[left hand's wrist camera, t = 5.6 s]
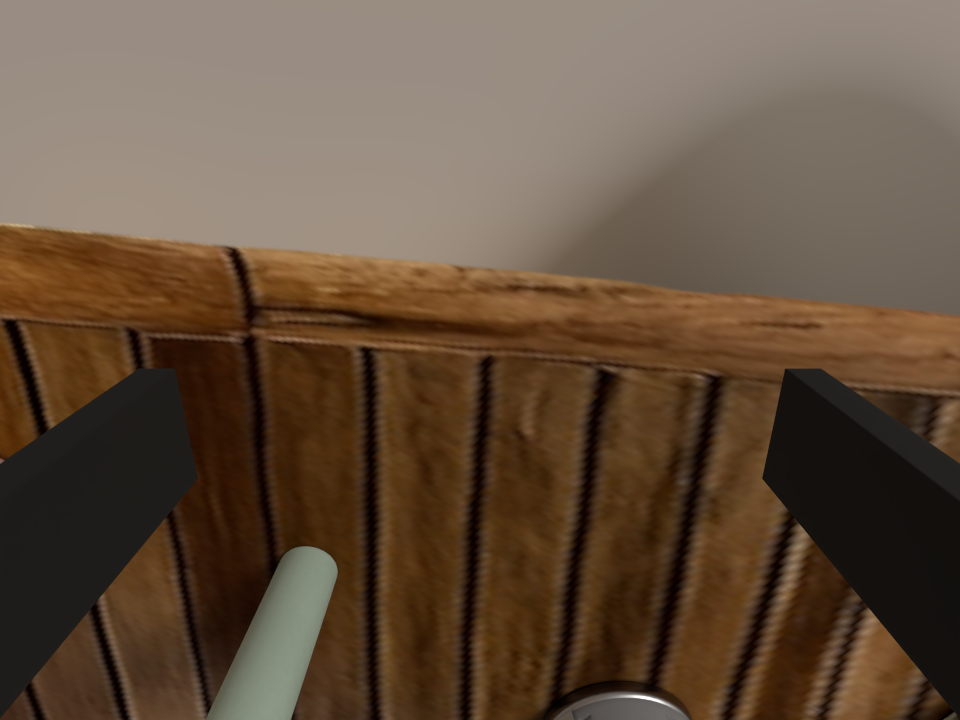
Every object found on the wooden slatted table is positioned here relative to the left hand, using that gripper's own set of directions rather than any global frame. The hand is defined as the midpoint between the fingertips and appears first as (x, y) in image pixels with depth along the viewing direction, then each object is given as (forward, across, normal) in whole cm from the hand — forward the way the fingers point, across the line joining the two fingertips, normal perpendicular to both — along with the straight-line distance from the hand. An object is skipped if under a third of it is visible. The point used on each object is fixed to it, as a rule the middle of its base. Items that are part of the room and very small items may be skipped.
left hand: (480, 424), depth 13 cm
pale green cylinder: (+28, +15, +29) cm, 43 cm away
